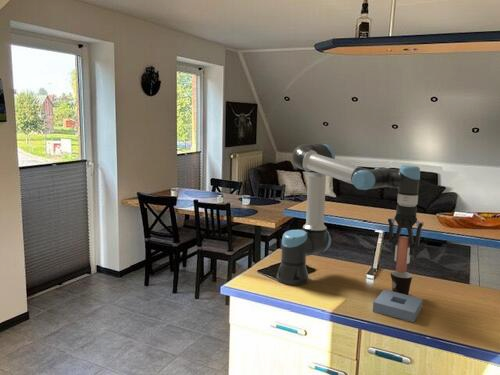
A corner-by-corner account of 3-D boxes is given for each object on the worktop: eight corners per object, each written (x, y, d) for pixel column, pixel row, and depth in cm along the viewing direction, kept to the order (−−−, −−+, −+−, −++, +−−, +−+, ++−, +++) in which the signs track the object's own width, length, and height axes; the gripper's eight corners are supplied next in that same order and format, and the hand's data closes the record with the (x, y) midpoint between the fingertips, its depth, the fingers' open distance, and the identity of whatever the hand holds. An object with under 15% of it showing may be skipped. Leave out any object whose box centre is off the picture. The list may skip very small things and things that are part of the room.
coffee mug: (411, 300, 182) (414, 278, 180) (391, 298, 183) (393, 276, 182) (407, 290, 193) (409, 269, 191) (387, 288, 195) (389, 267, 193)
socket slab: (372, 311, 171) (373, 302, 170) (383, 297, 184) (384, 289, 183) (413, 322, 162) (414, 312, 161) (421, 307, 175) (422, 298, 175)
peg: (394, 271, 170) (397, 237, 167) (397, 268, 173) (400, 235, 171) (405, 273, 167) (408, 239, 165) (407, 270, 171) (410, 237, 169)
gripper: (382, 203, 167) (378, 259, 171) (428, 209, 158) (422, 268, 162) (387, 200, 173) (383, 255, 177) (431, 206, 164) (426, 263, 168)
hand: (402, 261), depth 170 cm, fingers closed on peg, 4 cm apart
